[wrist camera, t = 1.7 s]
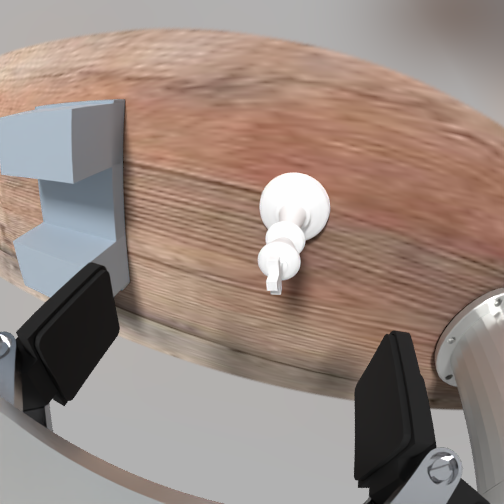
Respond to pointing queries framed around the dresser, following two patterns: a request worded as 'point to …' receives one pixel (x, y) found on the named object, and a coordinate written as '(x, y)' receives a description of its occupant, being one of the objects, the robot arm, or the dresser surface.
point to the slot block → (70, 189)
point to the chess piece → (289, 224)
